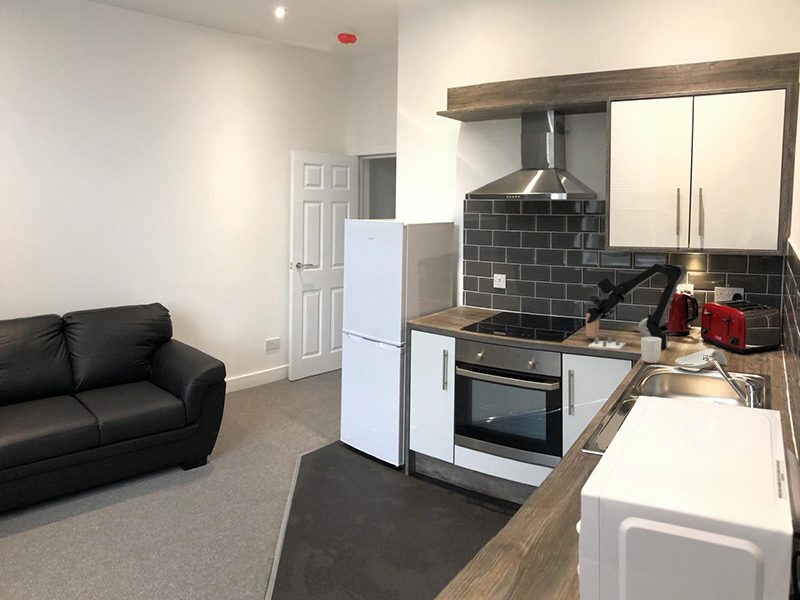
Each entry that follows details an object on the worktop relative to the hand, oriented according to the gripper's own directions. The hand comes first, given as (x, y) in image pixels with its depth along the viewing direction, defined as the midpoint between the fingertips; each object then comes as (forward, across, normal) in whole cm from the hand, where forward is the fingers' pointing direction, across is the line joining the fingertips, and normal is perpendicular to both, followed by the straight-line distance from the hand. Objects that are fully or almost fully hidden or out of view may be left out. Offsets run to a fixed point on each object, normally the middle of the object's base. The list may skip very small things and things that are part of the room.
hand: (589, 322), depth 307 cm
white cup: (-23, +28, +36) cm, 51 cm away
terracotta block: (+4, 0, +6) cm, 7 cm away
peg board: (-4, +10, +16) cm, 19 cm away
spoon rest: (-37, +25, +50) cm, 67 cm away
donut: (-9, -20, +21) cm, 30 cm away
